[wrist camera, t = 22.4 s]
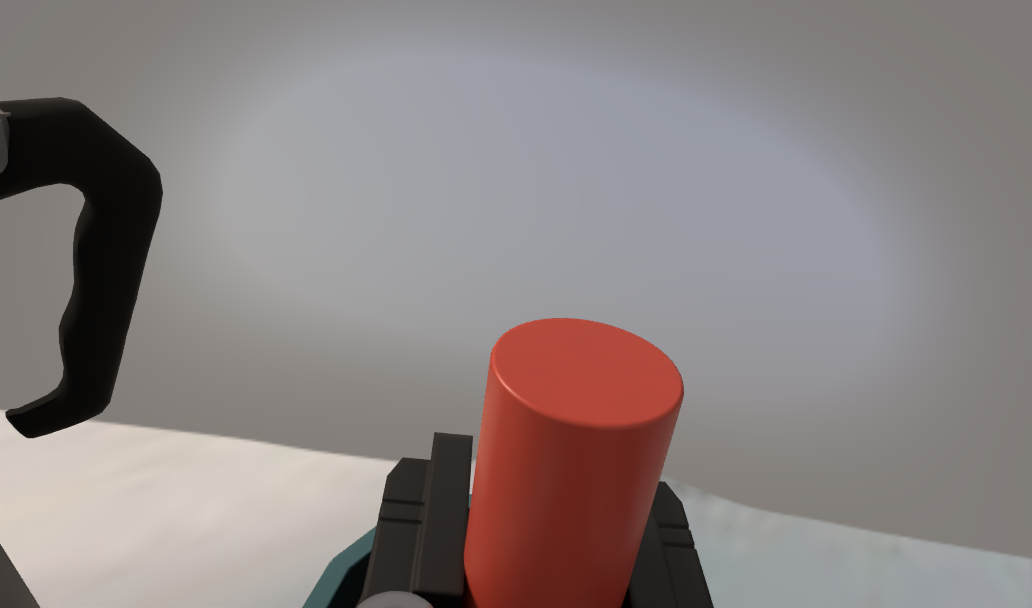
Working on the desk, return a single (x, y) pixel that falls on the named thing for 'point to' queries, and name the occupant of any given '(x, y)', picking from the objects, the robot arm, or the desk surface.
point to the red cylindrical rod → (566, 464)
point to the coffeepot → (81, 258)
